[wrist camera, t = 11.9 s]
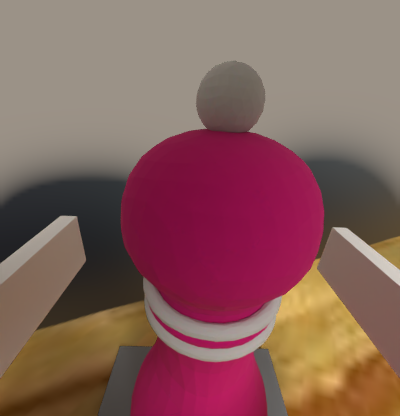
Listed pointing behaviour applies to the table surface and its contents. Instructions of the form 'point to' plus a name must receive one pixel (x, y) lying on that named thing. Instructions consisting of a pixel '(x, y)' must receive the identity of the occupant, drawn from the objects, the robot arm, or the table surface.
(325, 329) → the table surface
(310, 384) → the table surface
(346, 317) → the table surface
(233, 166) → the pepper mill
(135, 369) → the charcoal mat
